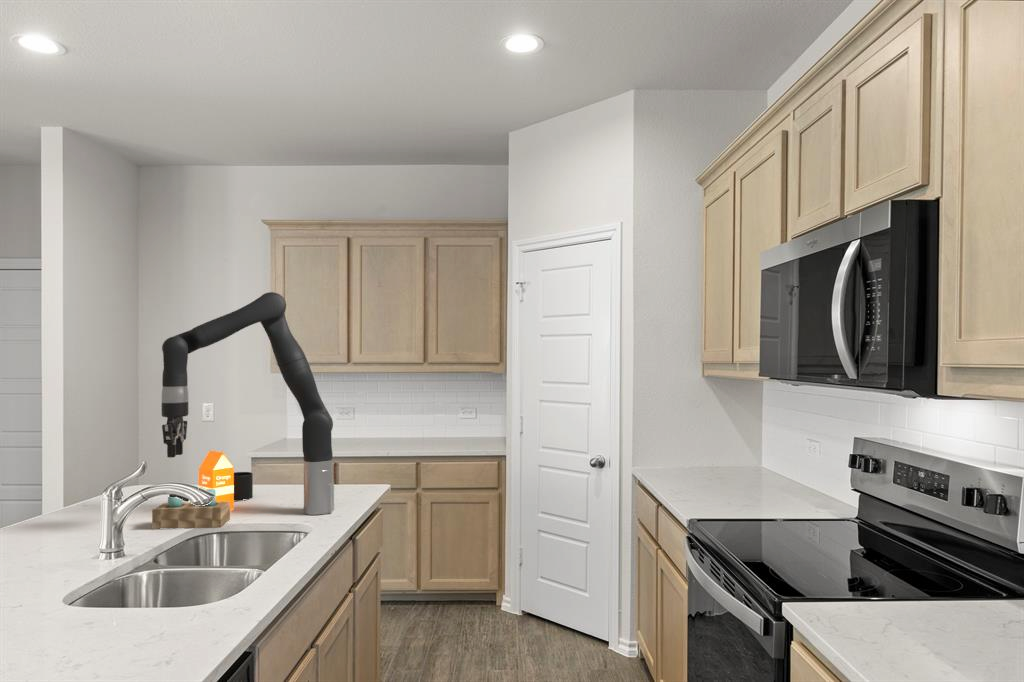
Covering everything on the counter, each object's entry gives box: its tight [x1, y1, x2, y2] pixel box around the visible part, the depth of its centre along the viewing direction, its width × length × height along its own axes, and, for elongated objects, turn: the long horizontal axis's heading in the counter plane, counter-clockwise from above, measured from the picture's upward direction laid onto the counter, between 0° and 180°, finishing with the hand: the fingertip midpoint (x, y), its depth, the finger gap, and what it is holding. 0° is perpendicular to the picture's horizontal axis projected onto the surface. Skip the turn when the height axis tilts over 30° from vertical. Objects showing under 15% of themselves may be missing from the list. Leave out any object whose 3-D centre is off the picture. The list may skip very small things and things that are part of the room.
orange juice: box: [198, 450, 235, 510], centre depth 237 cm, size 8×9×20 cm
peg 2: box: [202, 489, 216, 507], centre depth 218 cm, size 4×4×6 cm
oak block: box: [151, 501, 231, 530], centre depth 217 cm, size 20×9×6 cm, turn 95°
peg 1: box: [167, 496, 183, 508], centre depth 217 cm, size 4×4×6 cm
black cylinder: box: [234, 471, 254, 500], centre depth 258 cm, size 9×12×9 cm
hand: (175, 455), depth 217 cm, fingers open, 5 cm apart
